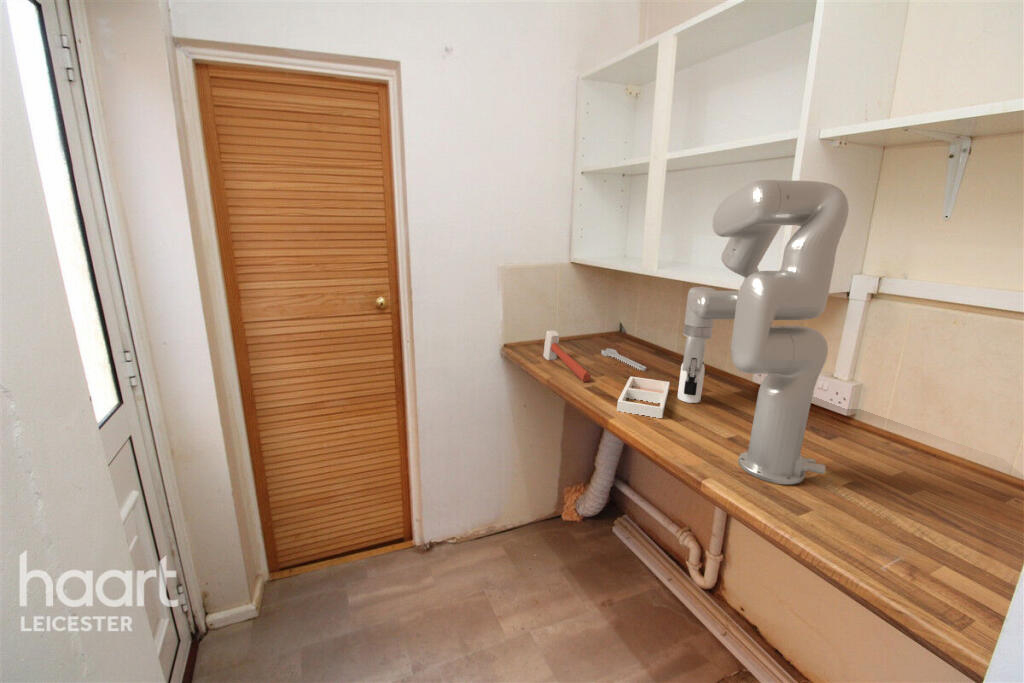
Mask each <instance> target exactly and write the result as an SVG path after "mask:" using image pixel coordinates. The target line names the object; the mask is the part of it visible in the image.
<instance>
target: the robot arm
mask: <svg viewBox="0 0 1024 683" xmlns="http://www.w3.org/2000/svg"><path fill="white" fill-rule="evenodd" d="M844 192H845V191H843V190H842V189H841V188H839V187H838V186H836V185H834V184H831V183H827V182H822V181H814V180H785V179H784V180H783V179H782V180H781V179H761V180H757V181H753V182H751V183H749V184H748V185H745V186H744V187H742V188H740V189H738V190H736V192H733V193H732V194H730V195H729V196H727V197H726V198H725V199H723V200H722V202H721V203H720V204H719V205H718V207H717V208H716V210H715V212H714V214H713V218H712V229H713V232H714V233H715V235H717V236H719V237H721V238H729V239H728V241H727V243H726V245H725V247H724V249H723V251H722V252H721V257H720V258H721V261H722V264H723V265H724V266H725V268H727V269H729V271H731V272H732V273H735V274H737V275H739V276H741V277H743V278H744V279H743V281H742V283H741V285H740V287H739V288H740V290H739V289H737V290H716V289H715V288H713V287H707V286H706V287H705V286H693V287H691V288H690V289H688V293H687V299H686V300H687V301H686V307H685V314H684V315H685V316H684V325H683V331H682V332H683V336H684V337H686V338H685V345H684V351H683V352H684V353H683V361H682V363H683V367H682V370H683V371H685V370H687V369H688V371H687V379H686V380H685V387H684V394H688V395H696V388H697V382H696V381H697V374H698V373H699V372H700V371H701V367H702V363H703V362H704V356H705V352H706V346H707V340H710V339H712V335H713V329H714V328H713V326H714V320H733V326H732V335H731V336H732V337H731V343H730V355H731V356H730V357H731V361H732V364H733V365H734V366H735V368H736V369H738V371H740V372H742V373H746V374H752V375H754V374H756V375H757V374H758V375H762V374H763V375H765V374H766V375H765V377H764V378H763V380H762V381H761V383H760V385H759V386H760V387H759V389H758V392H757V398H756V403H755V404H756V405H755V409H754V413H753V414H754V415H753V421H752V427H751V433H750V438H749V442H748V449H747V451H744V452H742V453H740V454H739V456H738V460H737V462H738V465H739V466H740V468H741V469H742V470H743V471H745V472H746V473H747V474H749V475H750V476H752V477H755V478H757V479H759V480H762V481H765V482H767V483H772V484H777V485H788V486H789V485H796V484H799V483H800V484H801V483H802V482H803V481H804V480H805V478H806V477H805V476H806V473H807V472H813V473H815V474H820V475H825V472H826V465H825V464H822V463H817V462H816V459H815V458H809V457H807V458H806V457H804V456H803V455H802V454H801V452H802V447H803V443H804V438H805V432H806V428H807V424H808V423H807V422H808V418H809V413H810V408H811V403H812V399H813V396H814V395H813V394H814V392H815V387H816V384H817V382H818V379H819V377H820V374H821V372H822V370H823V369H824V365H825V363H826V361H827V358H828V354H829V345H828V342H827V340H826V338H825V336H824V335H823V334H822V333H821V332H819V331H818V330H817V329H815V328H812V327H808V326H802V325H772V323H773V321H804V320H812V319H816V318H818V317H819V316H821V314H823V312H825V309H826V307H827V303H828V299H829V295H830V289H831V282H832V278H833V274H834V273H833V272H834V267H835V263H836V262H835V260H836V255H837V250H838V247H839V244H840V239H841V237H842V236H843V232H844V229H845V226H846V224H847V222H848V221H847V220H848V216H849V200H848V198H847V196H846V194H845V193H844ZM782 226H797V227H798V226H799V228H798V229H797V230H796V231H795V232H794V233H793V235H792V236H791V237H790V239H789V240H788V242H787V243H786V245H785V248H784V249H783V250H784V251H783V255H782V256H783V257H782V261H781V262H782V263H781V266H780V269H779V270H759V268H758V267H759V265H760V263H761V261H762V260H763V258H764V256H765V255H766V252H767V251H768V250H769V247H770V246H771V244H772V242H773V241H774V239H775V237H776V236H777V234H778V232H779V230H780V228H781V227H782ZM691 360H692V362H691ZM696 361H697V362H696ZM689 366H690V367H689ZM689 369H691V370H689ZM696 369H697V370H696ZM695 370H696V371H695ZM689 373H690V374H689ZM688 378H689V379H688Z"/></svg>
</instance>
